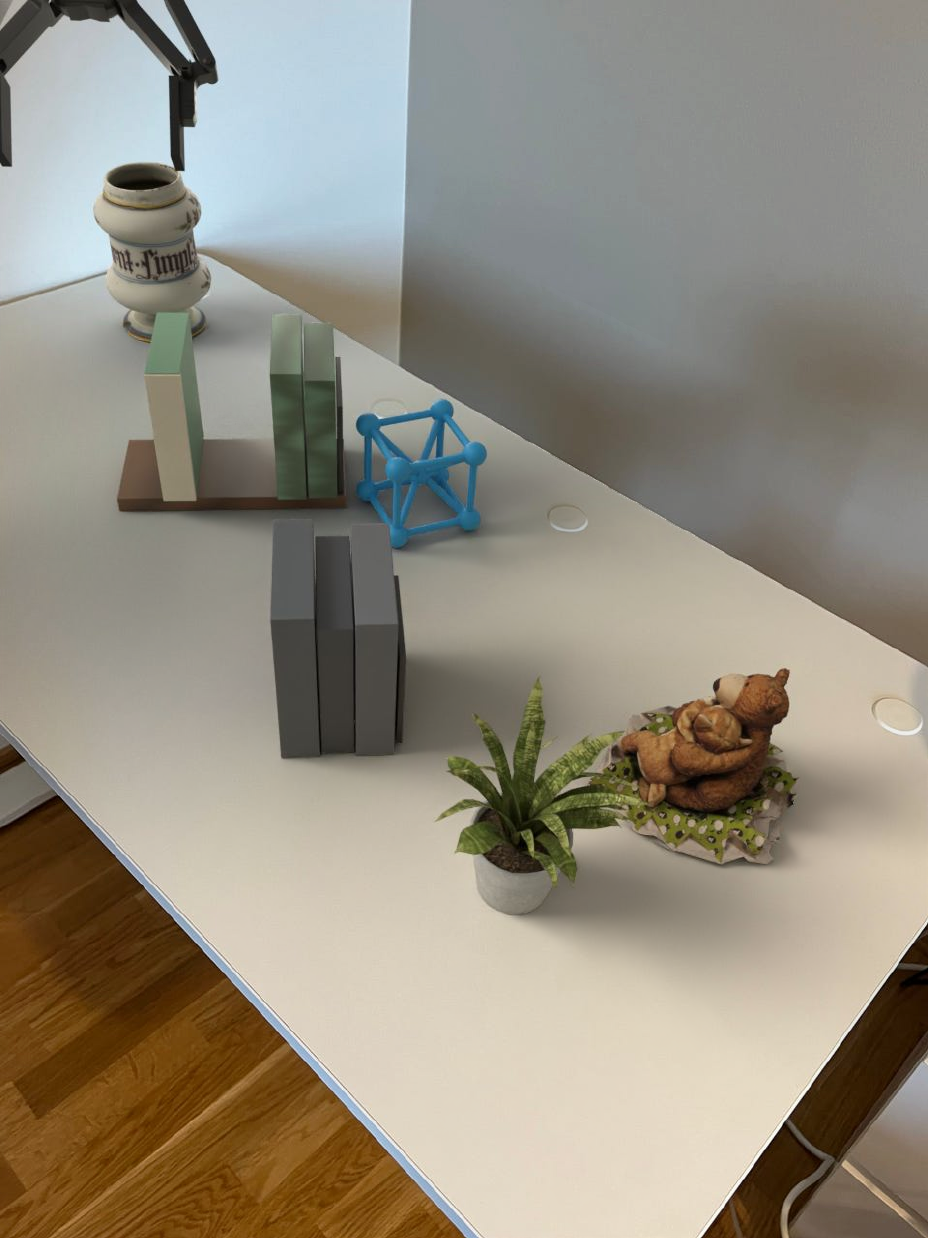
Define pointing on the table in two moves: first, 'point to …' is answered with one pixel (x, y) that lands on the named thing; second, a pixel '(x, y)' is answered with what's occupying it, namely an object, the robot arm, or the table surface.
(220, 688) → the table surface
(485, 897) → the house plant
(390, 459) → the molecular structure
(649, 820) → the bear figurine
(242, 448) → the book shelf
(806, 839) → the table surface
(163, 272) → the apothecary jar
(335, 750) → the grey books
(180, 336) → the green book
